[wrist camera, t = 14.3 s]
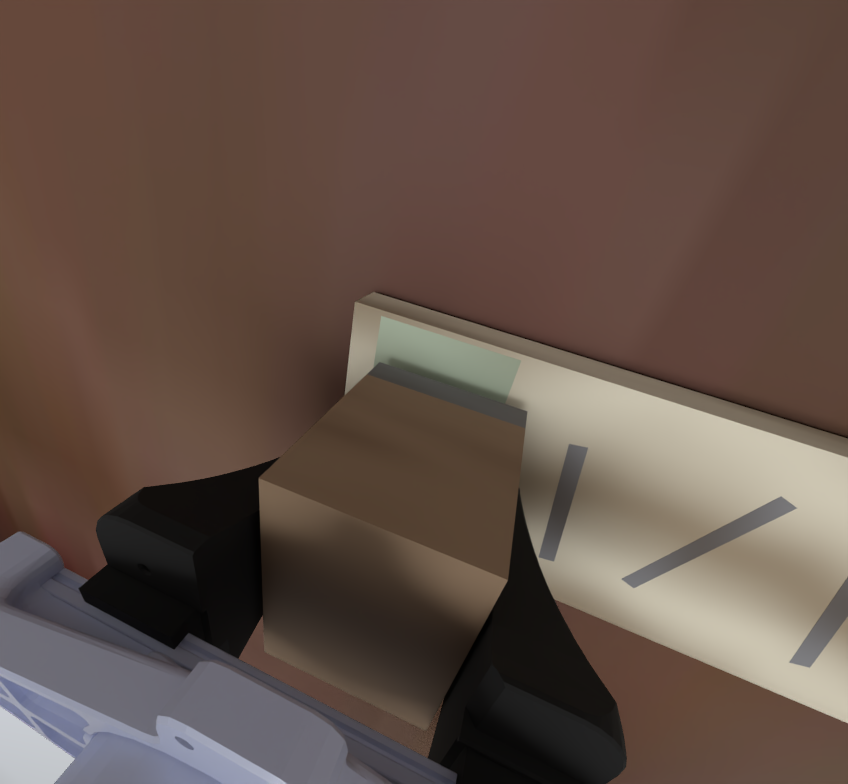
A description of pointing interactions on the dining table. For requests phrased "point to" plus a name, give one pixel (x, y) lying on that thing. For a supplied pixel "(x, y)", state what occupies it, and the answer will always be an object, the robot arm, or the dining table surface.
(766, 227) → the dining table surface
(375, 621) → the eraser block
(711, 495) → the birch board
